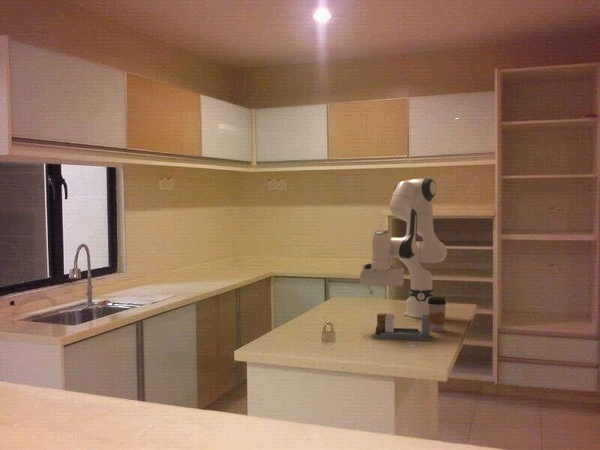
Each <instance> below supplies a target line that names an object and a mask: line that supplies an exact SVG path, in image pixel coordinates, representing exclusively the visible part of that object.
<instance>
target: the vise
mask: <svg viewBox="0 0 600 450" xmlns="http://www.w3.org/2000/svg"><path fill="white" fill-rule="evenodd" d="M420 319H421V320H420V330H419V328H410V327H409V328H408V327H407V328H405V327H395V330H394V332H393V333H385V332H376V330H375V331H374V332H373V339H377V340H378V339H380V340H397V341H398V340H399V341H400V340H402V341H419V342H420V341H421V342H423V341H424V342H430V338H431V333H430V331H431V330H430V315H423V316H422V317H421V318H420Z"/></svg>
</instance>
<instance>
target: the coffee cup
mask: <svg viewBox="0 0 600 450" xmlns="http://www.w3.org/2000/svg"><path fill="white" fill-rule="evenodd" d="M446 304H447V302H446V299H445V297H441V296H440V297H439V296H433V297H430V298H429V300H428V310H429V315H430V331H431V332H436V333H441V332H444V330H445V321H446V319H445V318H446Z"/></svg>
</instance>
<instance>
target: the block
mask: <svg viewBox="0 0 600 450" xmlns="http://www.w3.org/2000/svg"><path fill="white" fill-rule="evenodd" d="M387 314H388V313H386V312H385V313H384V312H380V313H379V312H378V313H377V314H376V318H377V319H376V326H378V327H385V317H386V315H387Z"/></svg>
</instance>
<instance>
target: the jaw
mask: <svg viewBox="0 0 600 450" xmlns="http://www.w3.org/2000/svg"><path fill="white" fill-rule="evenodd" d="M395 321H396V317H395V315H394V313H387V315H386V317H385V327H378V326H377V325H376V326H375V331H376V332H385V333H393V332H394V330H395V328H396V324H395V323H396V322H395Z"/></svg>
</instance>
